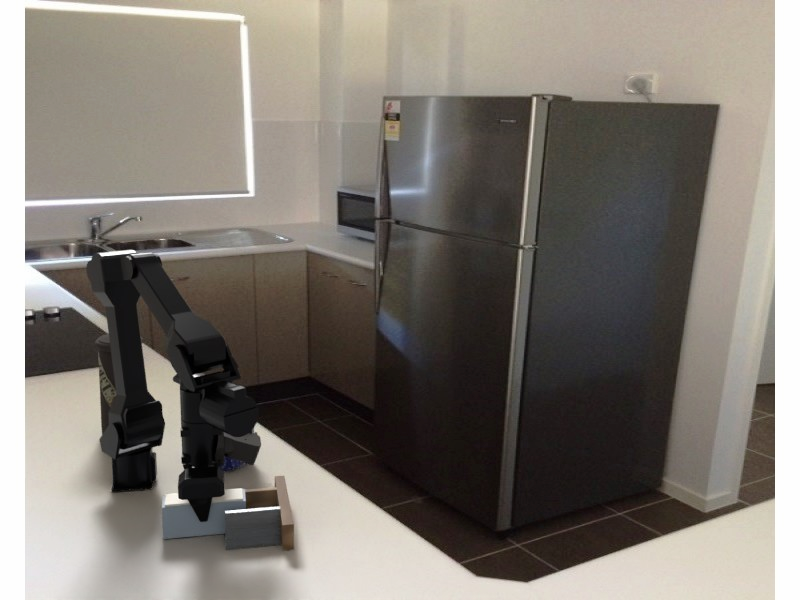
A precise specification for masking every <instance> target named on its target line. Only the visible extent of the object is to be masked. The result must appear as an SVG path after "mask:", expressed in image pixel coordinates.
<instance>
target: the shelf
mask: <svg viewBox="0 0 800 600" xmlns="http://www.w3.org/2000/svg"><path fill="white" fill-rule="evenodd" d="M245 498H246V509H253V508H265V507H277V506H280V530H281V540H282V545H281V548H282V551H291V550H294V548H295V545H294V544H295V543H294V542H295V539H294V538H295V537H294V536H295V532H294V531H295V530H294V528H295V527H294V525H295V523H294V519H293V514H292V509H291V507H292V506H291V502H290V498H289V492H288V488H287V482H286V477H285V475H274V487H262V488H251V489H250V488H249V489H245Z"/></svg>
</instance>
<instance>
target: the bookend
mask: <svg viewBox="0 0 800 600" xmlns="http://www.w3.org/2000/svg"><path fill="white" fill-rule="evenodd" d="M224 536H225V550H226V551H230V550H232V551H233V550H240V549H241V550H242V549H243V550H244V549H251V548H263V547H274V546H282V540H281V530H280V506H277V507H265V508H253V509H242V510H230V511H225V535H224Z"/></svg>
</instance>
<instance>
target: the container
mask: <svg viewBox="0 0 800 600" xmlns="http://www.w3.org/2000/svg"><path fill="white" fill-rule="evenodd" d="M143 339H144V338H143V336H141V341H142V344H143V343H144V340H143ZM94 345H95V347H96V349H97V359H98V360H97V361H98V378H99V400H100V423H101V425H100V426H101V436H102V435H103V433H104V432H105V430H106V429H107V427H108V425H109V415H108V412H109V409H110V407H111V405H112V403H113V401H114V398H115V396H116V386H115V378H114V370H113V363H112V355H111V347H110V340H109V333H105V334H103V335H101V336H99V337H98V338H97V339H96V340H95V342H94Z"/></svg>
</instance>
